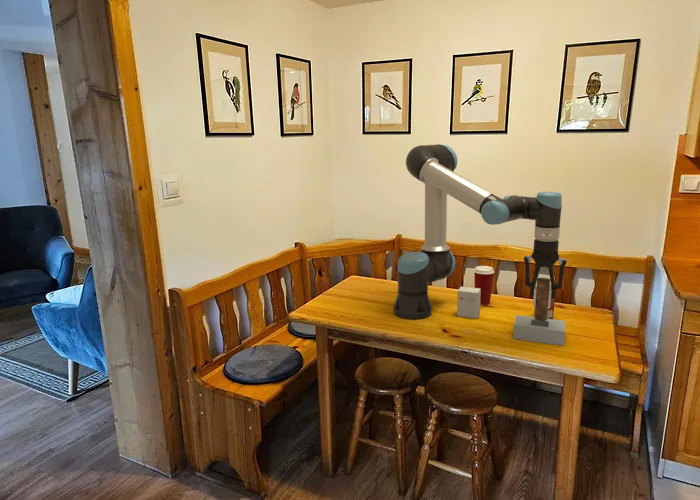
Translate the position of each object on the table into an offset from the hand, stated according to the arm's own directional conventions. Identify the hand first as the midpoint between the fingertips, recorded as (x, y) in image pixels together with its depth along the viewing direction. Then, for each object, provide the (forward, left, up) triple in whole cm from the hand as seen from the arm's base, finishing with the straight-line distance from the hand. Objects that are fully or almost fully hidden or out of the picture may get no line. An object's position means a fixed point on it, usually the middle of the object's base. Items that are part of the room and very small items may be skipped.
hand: (541, 306), depth 162 cm
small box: (-26, +12, -11) cm, 31 cm away
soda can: (+1, +20, -11) cm, 23 cm away
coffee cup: (-23, +28, -11) cm, 38 cm away
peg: (0, 0, -4) cm, 4 cm away
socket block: (0, 0, -11) cm, 11 cm away
